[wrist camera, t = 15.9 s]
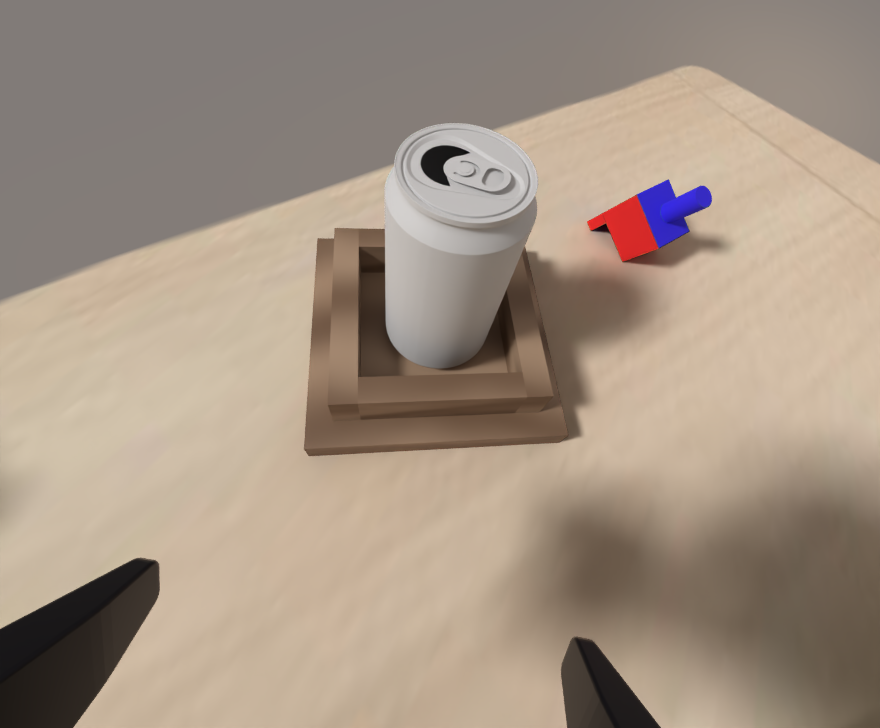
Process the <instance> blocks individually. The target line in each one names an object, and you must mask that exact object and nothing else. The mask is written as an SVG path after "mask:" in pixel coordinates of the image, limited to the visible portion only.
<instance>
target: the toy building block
mask: <svg viewBox="0 0 880 728" xmlns="http://www.w3.org/2000/svg"><path fill="white" fill-rule="evenodd" d="M711 202H712V196H711V193H710V191H709V189H708V188H707V187H705V186H699V187H697V188H695V189H693V190H691V191H689V192H687V193H685V194H683V195H681V196H679V197H677V198H676V196H675V194H674V191H673V189H672V186H671V184H670V181H669V179H668V180H666V181H664V182H662V183H660V184H658V185H656V186H654V187H652V188H650V189H647V190H645V191H643V192H641V193H639V194H637V195H635V196H633V197H631V198H630V199H628V200H626V201H624V202H622V203H620V204H619V205H617V206H615V207H613V208H611V209H609V210H608V211H606V212H604V213H602V214H600V215H599V216H597V217H595V218H593V219H591V220H589V221H588V222H587V223H588V226H589V228H590V230H591V231H592V230H594V229H596V228H598V227H600V226H602V225H604V224H606V225H607V227H608V229H609V232H610V234H611V236H612V239H613V241H614V243H615V246H616V248H617V250H618V253H619V255H620V257H621V260H622V262H624V261H627V260H629V259H632V258H635V257H638V256H640V255H643V254H646V253H648V252H651V251H654V250H657V249H659V248H661V247H663V246H665V245H666V244H668V243H670V242H672V241H674V240H675V239H677V238H679V237H681V236H682V235H684V234H686V233H688V232H690V231H689V229H688V226H687V224H686V221H685V219H684V217H686V216H689V215H691V214H693V213H696V212H698V211H700V210H703V209H705V208H707V207H709V206H710V205H711Z"/></svg>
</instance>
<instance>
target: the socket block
mask: <svg viewBox="0 0 880 728" xmlns="http://www.w3.org/2000/svg"><path fill="white" fill-rule="evenodd" d="M567 436H568V431H567V427H566V422H565V418H564V414H563V409H562V405H561V401H560V396H559V392H558V388H557V383H556V379H555V375H554V370H553V366H552V362H551V357H550V353H549V349H548V344H547V340H546V336H545V331H544V327H543V322H542V318H541V314H540V309H539V305H538V301H537V296H536V292H535V288H534V283H533V279H532V275H531V270H530V266H529V262H528V257H527V253H526V249H525V246H524V249H523V251H522V254H521V256H520V258H519V261H518V263H517V265H516V268H515V270H514V273H513V275H512V277H511V280H510V282H509V285H508V287H507V289H506V292H505V294H504V296H503V299H502V301H501V304H500V306H499V308H498V311H497V313H496V316H495V318H494V320H493V323H492V325H491V327H490V330H489V332H488V335H487V337H486V339H485V342H484V344H483V346H482V347H481V349H480V350H479V351H478V353H477V354H476V355H475V356H474V357H472V358H471V359H470V360H468V361H466V362H465V363H463V364H460V365H458V366H455V367H450V368H442V369H437V368H429V367H424V366H421V365H418V364H415V363H413V362H412V361H410V360H408V359H407V358H405V357H404V356H403V355H401V354H400V353H399V352H398V351H397V349H396V348H395V347H394V345H393V344H392V342H391V341H390V339H389V336H388V333H387V329H386V301H385V229H349V228H335V234H334V239H319V238H318V241H317V256H316V272H315V287H314V303H313V318H312V334H311V349H310V365H309V381H308V396H307V412H306V427H305V443H304V450H305V451H306V452H307V454H308V455H309V456H319V455H337V454H356V453H374V452H393V451H411V450H430V449H448V448H466V447H485V446H503V445H522V444H540V443H559V442H560V441H562V440H563V439H564V438H566V437H567Z"/></svg>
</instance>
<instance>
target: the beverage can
mask: <svg viewBox="0 0 880 728" xmlns="http://www.w3.org/2000/svg"><path fill="white" fill-rule="evenodd" d="M537 187H538V177H537V172H536V169H535V167H534V164H533V163H532V161H531V159H530V158H529V156H528V155H527V154H526V153H525V152H524V151H523V150H522V149H521V148H520V147H519V146H518V145H517V144H516V143H514V142H513V141H511V140H510V139H508V138H507V137H505V136H503V135H501V134H499V133H497V132H495V131H492V130H490V129H487V128H483V127H479V126H475V125H469V124H460V123H447V124H439V125H434V126H430V127H427V128H424V129H422V130H419V131H417V132H415V133H414V134H412V135H411V136H409V137H408V138H407V139H406V140H405V141H404V142H403V143H402V144H401V146H400V147H399V149H398V151H397V153H396V156H395V162H394V167H393V168H392V170H391V171H390V173H389V175H388V177H387V180H386V184H385V301H386V329H387V333H388V336H389V339H390V341H391V342H392V344H393V345H394V347H395V348H396V349H397V351H398V352H399V353H400V354H401V355H403V356H404V357H405V358H407V359H408V360H410V361H412V362H413V363H415V364H418V365H421V366H424V367H429V368H437V369H442V368H450V367H455V366H458V365H460V364H463V363H465V362H466V361H468V360H470V359H471V358H472V357H474V356H475V355H476V354H477V353H478V351H479V350H480V349H481V347H482V346H483V344H484V342H485V339H486V337H487V335H488V332H489V330H490V327H491V325H492V323H493V320H494V318H495V316H496V313H497V311H498V308H499V306H500V304H501V301H502V299H503V296H504V294H505V292H506V289H507V287H508V285H509V282H510V280H511V277H512V275H513V273H514V270H515V268H516V265H517V263H518V261H519V258H520V256H521V254H522V251H523V249H524V246H525V244H526V242H527V239H528V237H529V234H530V232H531V230H532V227H533V225H534V222H535V219H536V215H537V202H536V197H535V194H536V191H537Z"/></svg>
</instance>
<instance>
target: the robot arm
mask: <svg viewBox="0 0 880 728" xmlns="http://www.w3.org/2000/svg"><path fill="white" fill-rule="evenodd" d="M159 590H160V582H159V563H158V562H157V561H156V560H151V559H146V558H136V559H133V560H131V561H129V562H127V563H125V564H124V565H122V566H120V567H118V568H116V569H114V570H112V571H110V572H108V573H106V574H104V575H103V576H101V577H99V578H97V579H95V580H93V581H91V582H89V583H87V584H85V585H83V586H81V587H80V588H78V589H76V590H74V591H72V592H70V593H68V594H66V595H64V596H62V597H60V598H58V599H57V600H55V601H53V602H51V603H49V604H47V605H45V606H43V607H41V608H39V609H37V610H36V611H34V612H32V613H30V614H28V615H26V616H24V617H22V618H20V619H18V620H16V621H14V622H13V623H11V624H9V625H7V626H5V627H3V628H1V629H0V728H73V727H74V726H75V724H76V723H77V722H78V720H79V719H80V718H81V716H82V715H83V714H84V712H85V711H86V709H87V708H88V707H89V705H90V704H91V703H92V701H93V700H94V699H95V697H96V696H97V694H98V693H99V692H100V690H101V689H102V687H103V686H104V684H105V683H106V682H107V680H108V678H109V677H110V675H111V674H112V672H113V671H114V669H115V667H116V666H117V664H118V663H119V661H120V659H121V658H122V656H123V654H124V653H125V651H126V650H127V648H128V646H129V645H130V643H131V641H132V640H133V638H134V637H135V635H136V633H137V632H138V630H139V628H140V627H141V625H142V623H143V622H144V620H145V619H146V617H147V615H148V614H149V612H150V610H151V609H152V607H153V606H154V604H155V602H156V600H157V598H158V595H159ZM561 677H562V686H563V695H564V704H565V712H566V721H567V728H661V727H660V726H659V725H658V723H657V722H656V721H655V719H654V718H653V717H652V716H651V714H650V713H649V712H648V710H647V709H646V708H645V707H644V705H643V704H642V703H641V701H640V700H639V699H638V698H637V696H636V695H635V694H634V692H633V691H632V690H631V689H630V687H629V686H628V685H627V683H626V682H625V681H624V680H623V678H622V677H621V676H620V674H619V673H618V672H617V671H616V669H615V668H614V667H613V665H612V664H611V663H610V662H609V660H608V659H607V658H606V656H605V655H604V654H603V653H602V651H601V650H600V649H599V647H598V646H597V645H596V644H595V642H593V641H592V640H590V639H586V638H581V637H573V638H572V639H571V641H570V644H569V646H568V649H567V652H566V654H565V657H564V659H563V662H562V667H561Z"/></svg>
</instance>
